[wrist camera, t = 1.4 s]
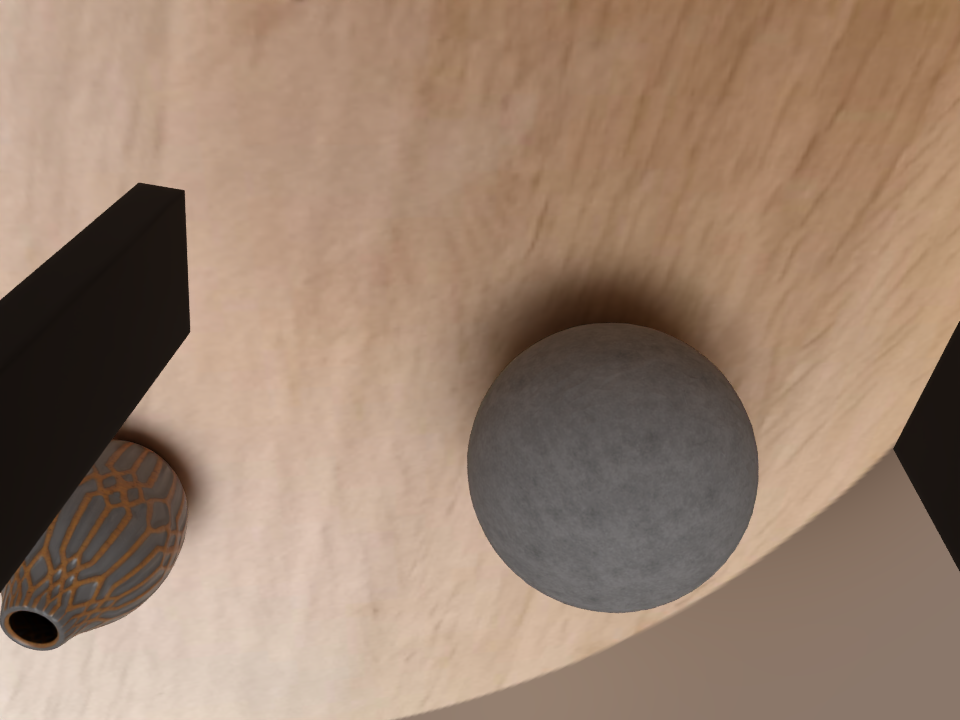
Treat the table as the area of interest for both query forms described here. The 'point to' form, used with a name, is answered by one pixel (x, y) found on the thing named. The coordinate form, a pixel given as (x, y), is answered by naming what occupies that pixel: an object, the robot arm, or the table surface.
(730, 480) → the decorative ball
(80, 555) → the vase
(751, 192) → the table surface
